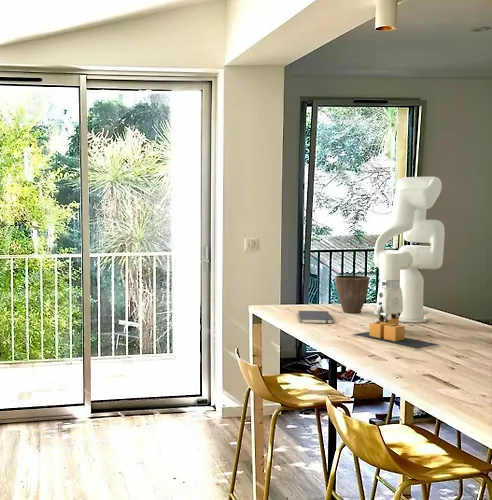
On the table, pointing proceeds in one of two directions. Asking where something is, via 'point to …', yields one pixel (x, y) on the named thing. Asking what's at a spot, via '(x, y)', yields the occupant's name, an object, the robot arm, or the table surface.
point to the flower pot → (352, 292)
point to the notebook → (315, 317)
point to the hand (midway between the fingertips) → (388, 330)
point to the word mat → (401, 341)
